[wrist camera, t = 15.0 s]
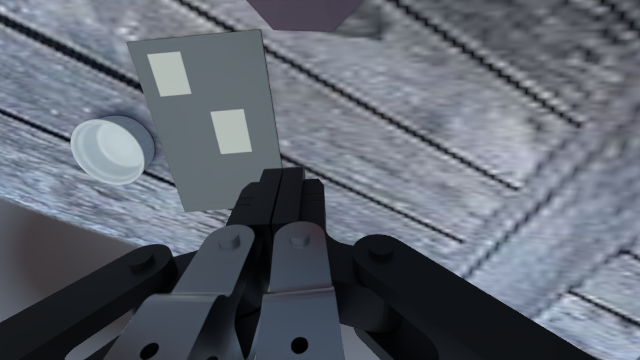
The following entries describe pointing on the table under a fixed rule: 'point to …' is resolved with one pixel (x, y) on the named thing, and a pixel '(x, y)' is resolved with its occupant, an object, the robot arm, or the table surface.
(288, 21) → the flask
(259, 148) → the label placard
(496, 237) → the table surface
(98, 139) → the ramekin
